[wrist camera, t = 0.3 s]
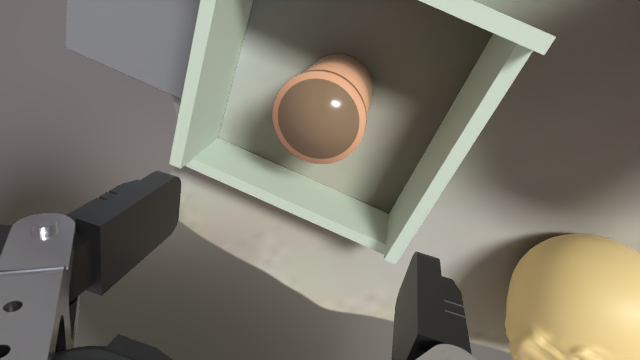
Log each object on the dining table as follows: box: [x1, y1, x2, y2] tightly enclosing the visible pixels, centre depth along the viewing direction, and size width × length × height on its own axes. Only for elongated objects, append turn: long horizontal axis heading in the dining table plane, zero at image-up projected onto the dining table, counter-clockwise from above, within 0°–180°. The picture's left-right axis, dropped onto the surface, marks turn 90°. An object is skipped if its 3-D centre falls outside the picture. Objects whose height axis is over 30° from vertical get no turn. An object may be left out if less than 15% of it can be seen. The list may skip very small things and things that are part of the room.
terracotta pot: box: [272, 54, 374, 164], centre depth 30 cm, size 6×6×8 cm
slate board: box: [66, 0, 200, 99], centre depth 33 cm, size 12×12×2 cm
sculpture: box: [505, 234, 640, 360], centre depth 32 cm, size 12×12×11 cm
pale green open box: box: [169, 0, 556, 265], centre depth 29 cm, size 20×20×9 cm
